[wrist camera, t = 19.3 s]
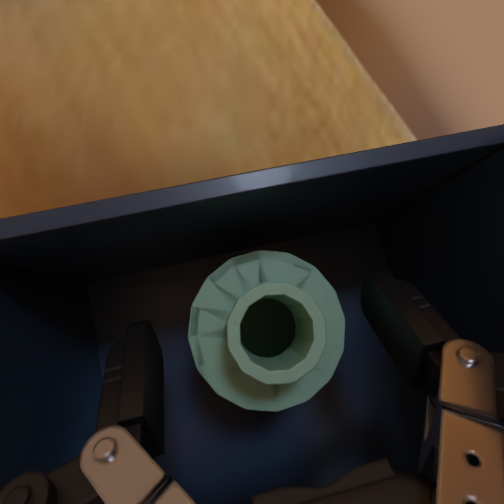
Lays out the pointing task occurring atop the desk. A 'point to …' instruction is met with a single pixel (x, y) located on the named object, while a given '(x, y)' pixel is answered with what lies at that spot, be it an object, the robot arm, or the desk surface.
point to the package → (211, 258)
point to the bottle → (266, 330)
